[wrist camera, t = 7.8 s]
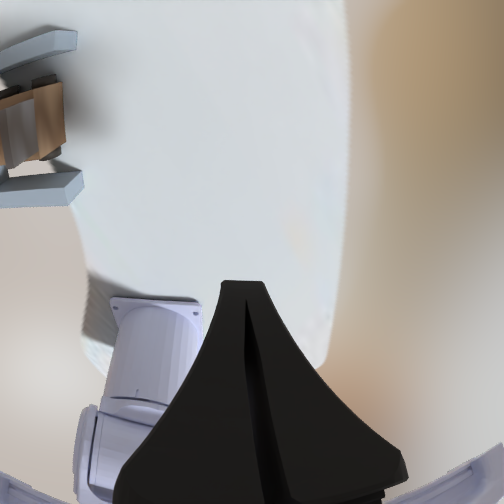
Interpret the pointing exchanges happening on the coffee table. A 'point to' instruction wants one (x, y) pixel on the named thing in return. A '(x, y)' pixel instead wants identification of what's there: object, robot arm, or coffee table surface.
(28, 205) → the bay
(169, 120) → the coffee table surface
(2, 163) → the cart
